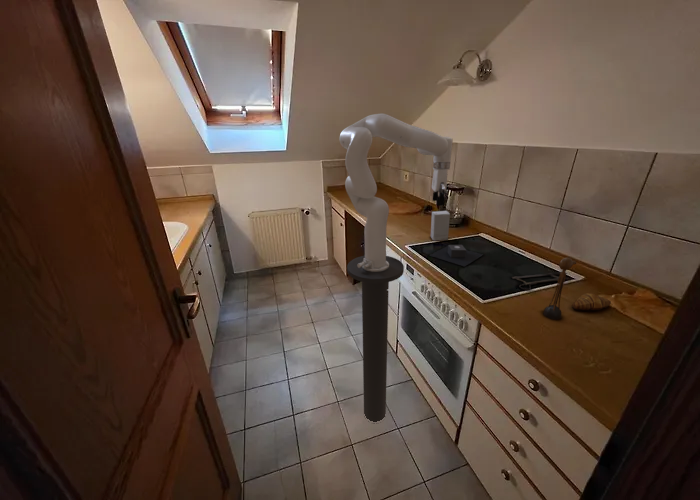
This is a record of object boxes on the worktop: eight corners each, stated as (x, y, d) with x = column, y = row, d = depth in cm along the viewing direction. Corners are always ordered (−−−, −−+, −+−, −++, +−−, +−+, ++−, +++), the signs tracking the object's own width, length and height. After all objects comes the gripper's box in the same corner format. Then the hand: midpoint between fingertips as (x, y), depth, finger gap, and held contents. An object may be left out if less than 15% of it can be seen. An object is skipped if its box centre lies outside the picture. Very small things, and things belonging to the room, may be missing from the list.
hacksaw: (563, 273, 120) (564, 270, 120) (584, 286, 111) (585, 282, 110) (506, 277, 118) (507, 274, 118) (523, 290, 109) (524, 287, 108)
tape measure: (465, 257, 137) (466, 249, 135) (451, 257, 137) (451, 249, 136) (460, 251, 143) (461, 243, 142) (446, 251, 144) (447, 243, 142)
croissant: (598, 299, 102) (602, 287, 100) (617, 310, 96) (622, 297, 94) (563, 304, 100) (567, 291, 98) (581, 315, 94) (585, 302, 92)
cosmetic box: (444, 236, 164) (447, 210, 158) (448, 240, 158) (451, 213, 152) (429, 237, 164) (431, 210, 158) (432, 241, 158) (434, 213, 153)
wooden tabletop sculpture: (554, 309, 97) (569, 253, 90) (567, 317, 93) (584, 259, 86) (539, 312, 96) (554, 256, 88) (552, 320, 92) (568, 262, 84)
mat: (464, 267, 128) (464, 266, 128) (428, 255, 141) (428, 255, 140) (483, 255, 139) (483, 254, 139) (448, 245, 152) (448, 244, 152)
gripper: (429, 163, 143) (426, 199, 149) (436, 168, 127) (433, 207, 133) (445, 163, 142) (442, 198, 149) (454, 168, 126) (450, 207, 133)
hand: (438, 202), depth 141 cm, fingers open, 9 cm apart
